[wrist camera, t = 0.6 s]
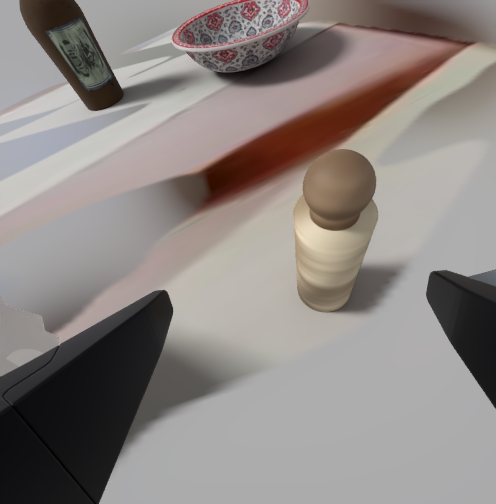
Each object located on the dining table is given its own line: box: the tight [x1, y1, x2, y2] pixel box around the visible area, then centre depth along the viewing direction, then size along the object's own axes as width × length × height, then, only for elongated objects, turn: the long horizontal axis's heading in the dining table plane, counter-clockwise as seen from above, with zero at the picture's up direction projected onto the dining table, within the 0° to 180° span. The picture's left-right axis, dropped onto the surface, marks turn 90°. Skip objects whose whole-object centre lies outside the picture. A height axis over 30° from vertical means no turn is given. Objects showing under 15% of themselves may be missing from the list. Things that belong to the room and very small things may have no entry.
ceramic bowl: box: [172, 0, 310, 72], centre depth 55 cm, size 29×29×8 cm
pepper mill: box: [294, 149, 378, 312], centre depth 18 cm, size 5×5×15 cm
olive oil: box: [20, 0, 123, 110], centre depth 51 cm, size 11×11×25 cm
